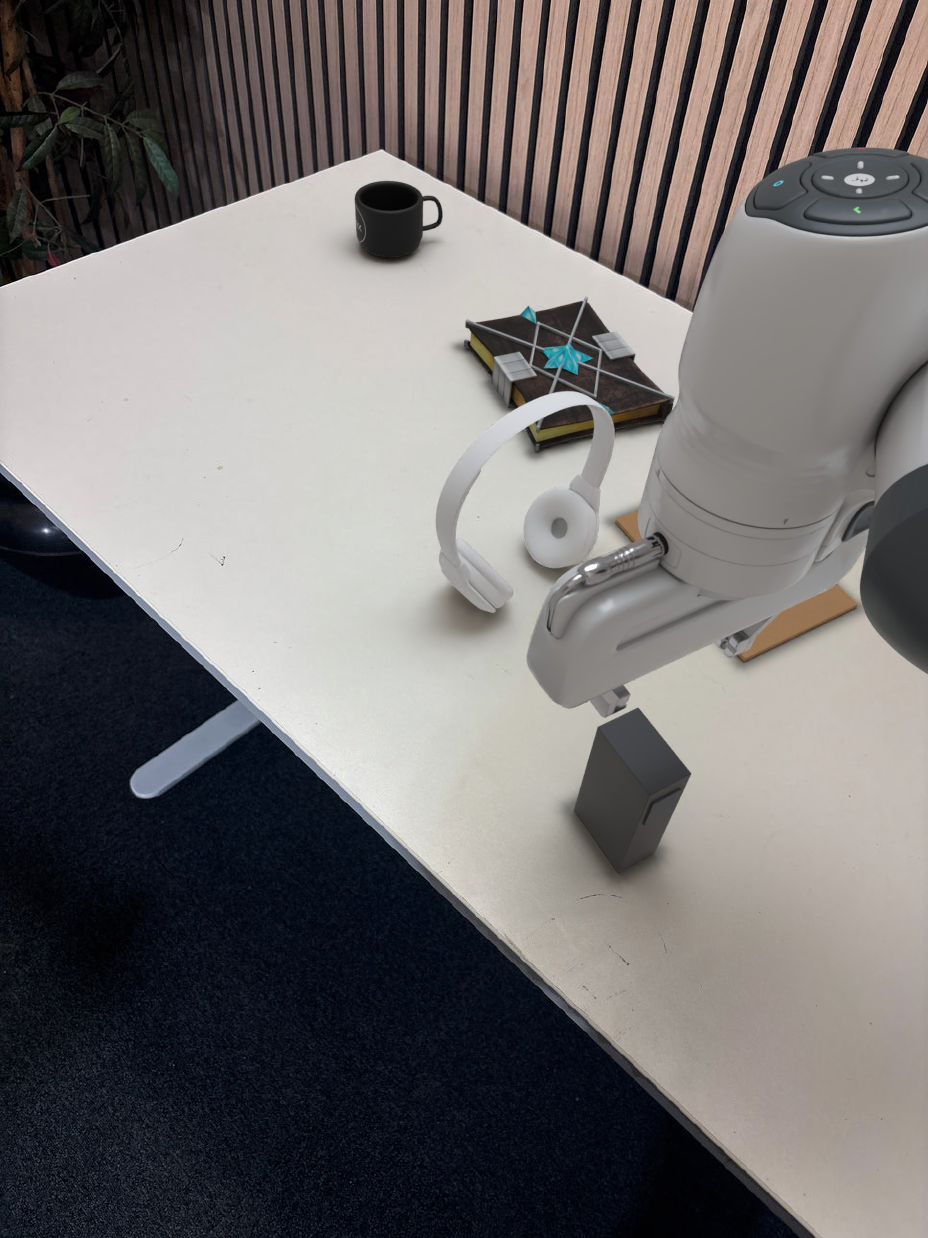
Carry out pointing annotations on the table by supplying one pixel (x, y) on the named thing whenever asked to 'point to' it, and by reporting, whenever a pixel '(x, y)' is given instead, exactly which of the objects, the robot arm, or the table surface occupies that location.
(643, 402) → the book
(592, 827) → the device
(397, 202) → the mug
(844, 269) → the robot arm
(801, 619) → the mat
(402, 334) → the table surface
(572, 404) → the headphones
